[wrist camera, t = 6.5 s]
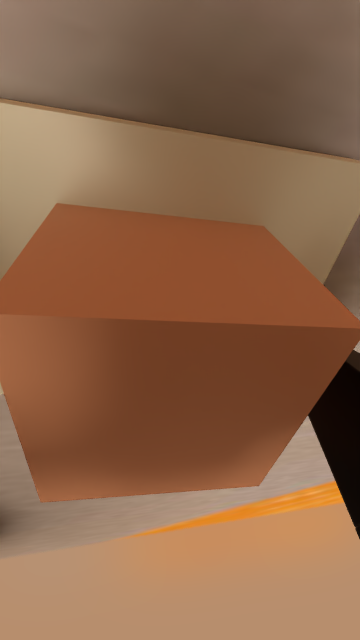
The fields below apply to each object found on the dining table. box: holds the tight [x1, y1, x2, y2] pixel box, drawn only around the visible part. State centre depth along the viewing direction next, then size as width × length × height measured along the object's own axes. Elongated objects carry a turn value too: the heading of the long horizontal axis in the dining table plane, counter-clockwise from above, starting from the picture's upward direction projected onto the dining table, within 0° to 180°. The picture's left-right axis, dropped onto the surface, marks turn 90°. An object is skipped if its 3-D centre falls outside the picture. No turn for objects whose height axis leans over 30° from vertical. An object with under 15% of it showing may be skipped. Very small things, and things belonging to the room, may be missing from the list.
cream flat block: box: [0, 98, 360, 394], centre depth 10 cm, size 10×12×3 cm
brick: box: [0, 203, 360, 502], centre depth 8 cm, size 6×6×5 cm
